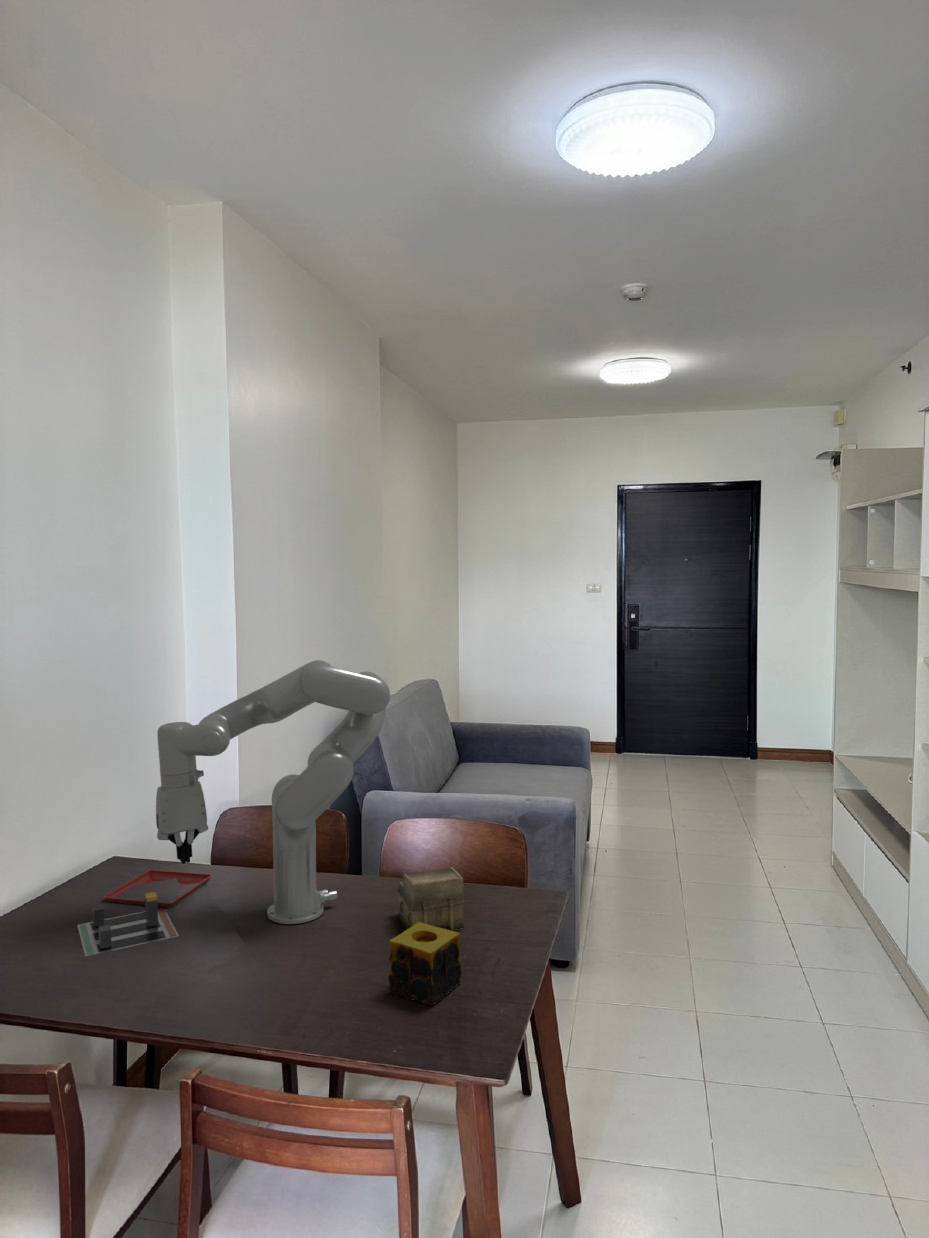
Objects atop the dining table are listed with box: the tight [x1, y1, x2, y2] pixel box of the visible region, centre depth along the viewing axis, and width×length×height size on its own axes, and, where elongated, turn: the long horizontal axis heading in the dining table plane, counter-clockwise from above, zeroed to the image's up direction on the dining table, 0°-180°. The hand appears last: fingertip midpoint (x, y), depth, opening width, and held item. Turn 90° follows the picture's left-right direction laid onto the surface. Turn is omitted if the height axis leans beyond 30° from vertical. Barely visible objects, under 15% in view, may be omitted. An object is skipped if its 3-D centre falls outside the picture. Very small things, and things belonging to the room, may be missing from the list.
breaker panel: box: [76, 907, 180, 957], centre depth 176 cm, size 18×17×2 cm
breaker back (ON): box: [91, 903, 105, 927], centre depth 179 cm, size 2×3×4 cm, turn 30°
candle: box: [388, 922, 462, 1007], centre depth 154 cm, size 10×10×10 cm
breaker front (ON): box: [99, 924, 112, 949], centre depth 168 cm, size 2×3×4 cm, turn 30°
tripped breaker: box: [144, 891, 159, 927], centre depth 178 cm, size 2×3×6 cm
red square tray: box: [103, 869, 213, 908], centre depth 198 cm, size 18×18×3 cm
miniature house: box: [396, 866, 467, 932], centre depth 183 cm, size 15×14×11 cm
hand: (185, 861), depth 181 cm, fingers closed
